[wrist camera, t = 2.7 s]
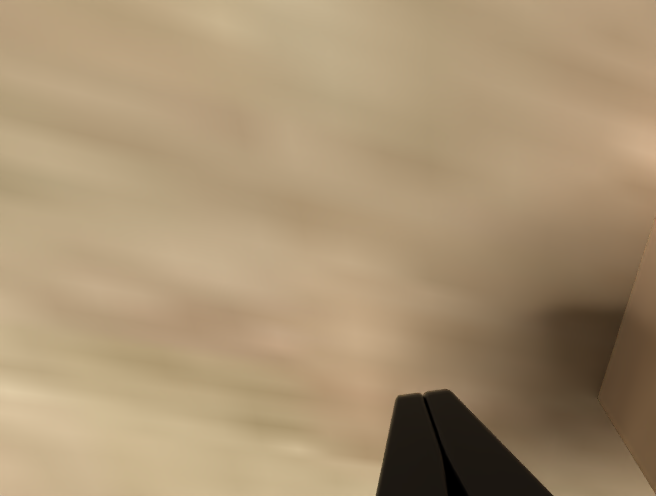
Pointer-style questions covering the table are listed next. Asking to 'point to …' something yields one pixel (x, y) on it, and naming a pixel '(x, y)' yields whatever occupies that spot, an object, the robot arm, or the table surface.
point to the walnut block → (636, 369)
